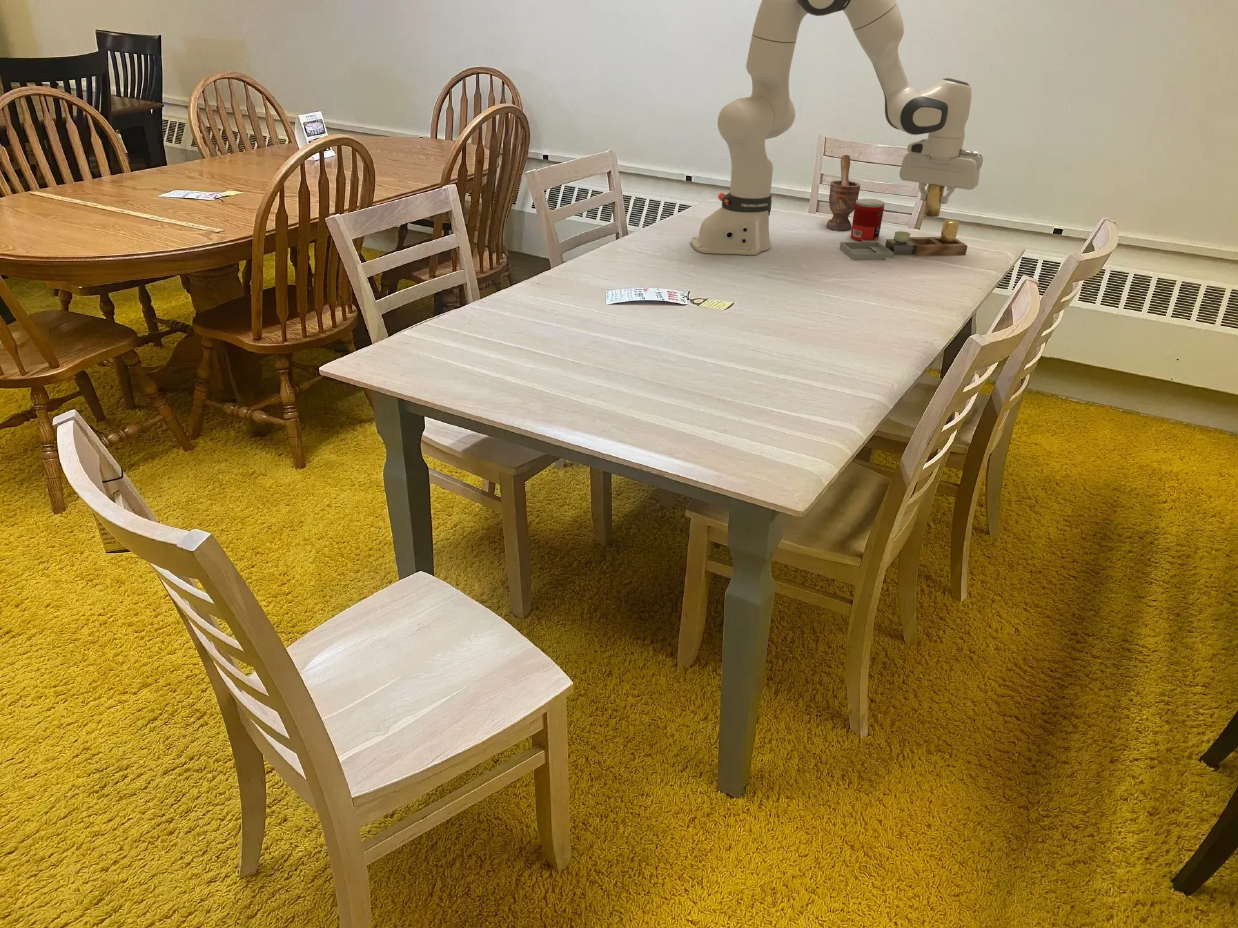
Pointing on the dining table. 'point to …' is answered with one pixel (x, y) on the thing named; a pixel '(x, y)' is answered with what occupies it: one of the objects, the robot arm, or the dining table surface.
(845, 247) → the grey square tray
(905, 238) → the button
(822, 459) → the dining table surface
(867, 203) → the canned food
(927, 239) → the wooden compartment tray
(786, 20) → the robot arm
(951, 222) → the billet seated
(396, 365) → the dining table surface
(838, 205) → the mortar and pestle
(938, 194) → the billet
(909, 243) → the button housing
